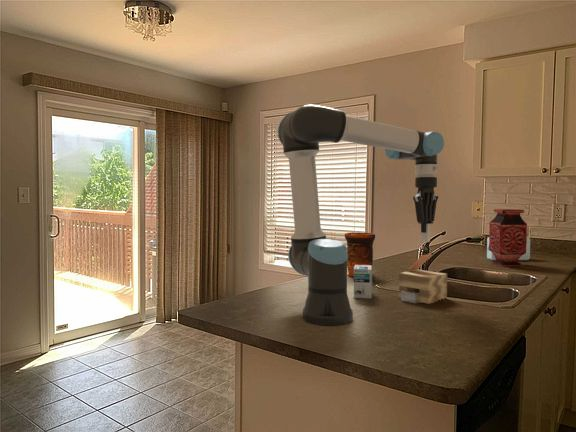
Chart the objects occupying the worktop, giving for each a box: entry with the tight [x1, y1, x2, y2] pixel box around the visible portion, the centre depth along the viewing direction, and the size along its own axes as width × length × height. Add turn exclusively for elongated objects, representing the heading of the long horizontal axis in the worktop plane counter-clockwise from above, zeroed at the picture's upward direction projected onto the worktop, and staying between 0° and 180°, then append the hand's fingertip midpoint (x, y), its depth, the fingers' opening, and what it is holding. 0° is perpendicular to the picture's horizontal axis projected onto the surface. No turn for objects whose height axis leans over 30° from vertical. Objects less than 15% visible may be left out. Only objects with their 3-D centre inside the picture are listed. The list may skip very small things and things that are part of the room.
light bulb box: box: [353, 264, 373, 300], centre depth 159 cm, size 11×7×11 cm, turn 168°
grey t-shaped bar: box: [400, 290, 421, 304], centre depth 155 cm, size 17×6×3 cm, turn 130°
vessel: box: [344, 231, 376, 278], centre depth 201 cm, size 14×14×20 cm
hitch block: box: [398, 269, 448, 305], centre depth 155 cm, size 12×12×9 cm
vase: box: [488, 208, 528, 267], centre depth 229 cm, size 14×14×30 cm
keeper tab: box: [406, 253, 433, 272], centre depth 158 cm, size 9×6×1 cm
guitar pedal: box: [486, 236, 531, 261], centre depth 251 cm, size 23×6×13 cm, turn 94°
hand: (425, 241), depth 156 cm, fingers closed
